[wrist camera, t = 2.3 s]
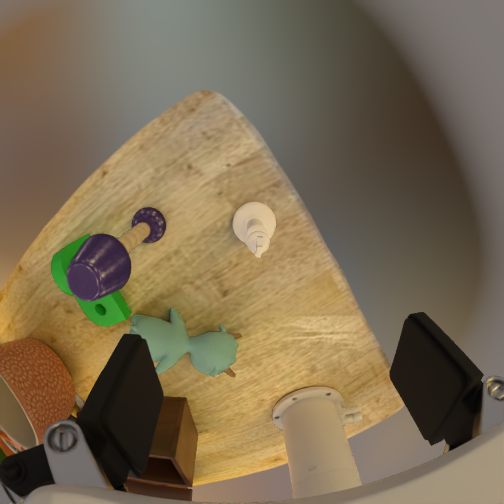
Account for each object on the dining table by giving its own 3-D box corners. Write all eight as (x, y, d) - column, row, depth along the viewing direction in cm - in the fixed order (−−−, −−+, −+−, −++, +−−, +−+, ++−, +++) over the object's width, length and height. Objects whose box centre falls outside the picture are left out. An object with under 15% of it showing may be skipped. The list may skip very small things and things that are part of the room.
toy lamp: (160, 199, 30) (87, 237, 14) (177, 235, 32) (123, 303, 16) (127, 216, 31) (42, 264, 15) (144, 250, 32) (75, 322, 16)
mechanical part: (60, 251, 32) (26, 272, 24) (88, 234, 31) (53, 253, 24) (101, 323, 35) (78, 355, 28) (131, 312, 35) (109, 346, 27)
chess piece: (230, 242, 32) (226, 276, 23) (234, 199, 31) (230, 216, 21) (273, 245, 32) (286, 280, 23) (278, 203, 31) (294, 222, 22)
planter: (21, 316, 37) (-36, 337, 22) (84, 350, 36) (23, 391, 21) (30, 386, 38) (-14, 416, 23) (90, 423, 38) (49, 468, 22)
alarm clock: (0, 453, 43) (-18, 425, 36) (9, 437, 52) (-6, 407, 46) (47, 484, 46) (34, 464, 40) (55, 466, 55) (45, 442, 49)
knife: (104, 439, 45) (103, 442, 45) (94, 438, 45) (94, 441, 44) (76, 382, 40) (75, 385, 39) (65, 381, 39) (64, 384, 39)
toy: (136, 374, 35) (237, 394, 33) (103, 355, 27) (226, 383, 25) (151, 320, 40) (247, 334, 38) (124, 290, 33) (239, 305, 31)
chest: (118, 391, 40) (95, 444, 28) (186, 397, 40) (175, 457, 28) (137, 429, 43) (123, 477, 32) (198, 434, 44) (192, 487, 32)
